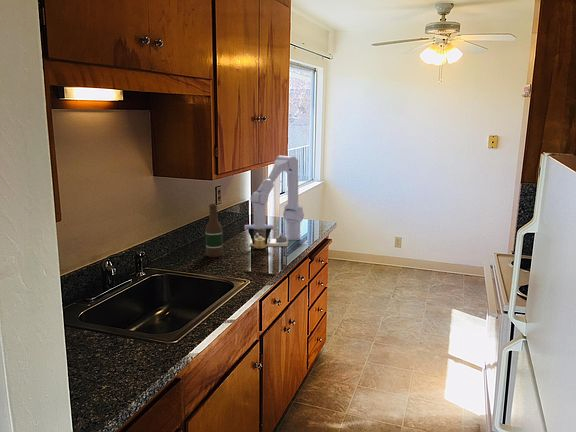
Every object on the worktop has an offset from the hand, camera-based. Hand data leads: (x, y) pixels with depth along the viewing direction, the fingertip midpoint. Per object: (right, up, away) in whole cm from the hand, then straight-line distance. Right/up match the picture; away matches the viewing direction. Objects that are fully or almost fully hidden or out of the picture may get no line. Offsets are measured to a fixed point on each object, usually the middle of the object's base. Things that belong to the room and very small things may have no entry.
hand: (260, 243), depth 236 cm
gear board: (+4, -1, +8) cm, 9 cm away
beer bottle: (-20, -5, -11) cm, 24 cm away
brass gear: (0, -2, 0) cm, 2 cm away
